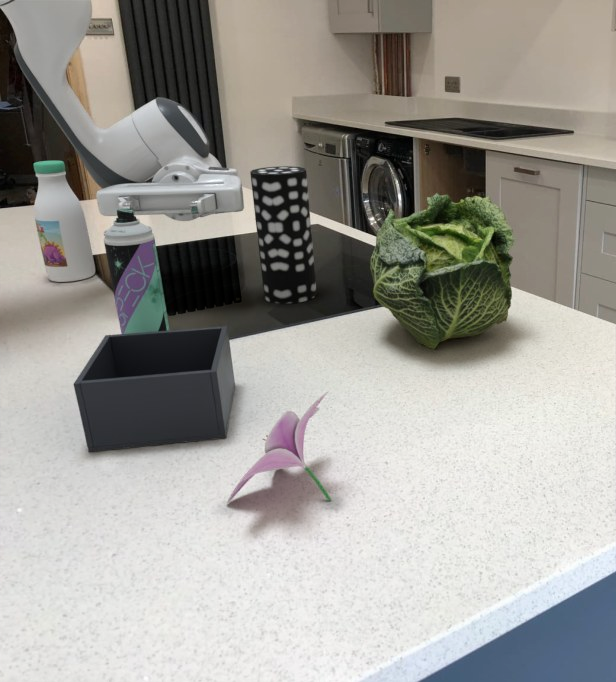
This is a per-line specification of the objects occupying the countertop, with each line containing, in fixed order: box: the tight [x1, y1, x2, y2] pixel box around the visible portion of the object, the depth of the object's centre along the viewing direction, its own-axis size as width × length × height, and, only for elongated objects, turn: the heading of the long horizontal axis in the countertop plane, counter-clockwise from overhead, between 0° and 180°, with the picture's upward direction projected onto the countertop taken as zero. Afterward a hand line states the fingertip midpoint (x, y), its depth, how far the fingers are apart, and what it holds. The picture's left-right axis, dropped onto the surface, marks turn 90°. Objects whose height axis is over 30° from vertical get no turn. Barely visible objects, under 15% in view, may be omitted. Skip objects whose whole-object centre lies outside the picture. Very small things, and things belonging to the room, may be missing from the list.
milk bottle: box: [33, 160, 96, 283], centre depth 126 cm, size 8×8×20 cm
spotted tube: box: [249, 165, 318, 305], centre depth 115 cm, size 8×8×20 cm
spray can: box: [103, 209, 170, 334], centre depth 88 cm, size 6×6×20 cm
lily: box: [226, 390, 332, 505], centre depth 64 cm, size 12×12×10 cm
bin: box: [73, 325, 236, 453], centre depth 79 cm, size 13×13×8 cm
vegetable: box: [370, 192, 516, 350], centre depth 100 cm, size 20×19×20 cm
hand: (160, 209), depth 101 cm, fingers open, 8 cm apart
